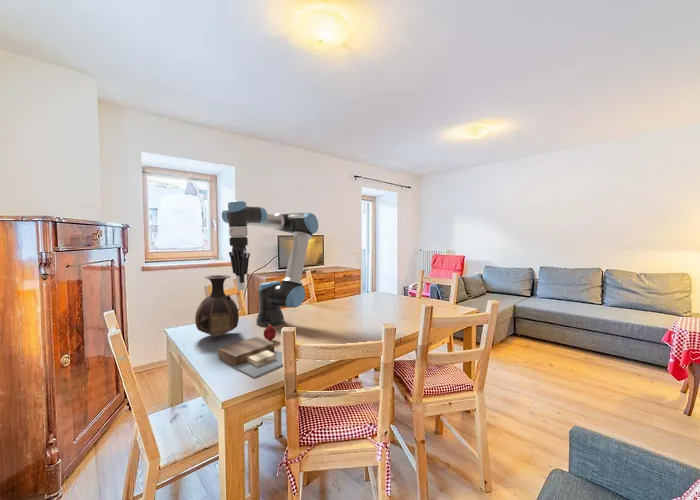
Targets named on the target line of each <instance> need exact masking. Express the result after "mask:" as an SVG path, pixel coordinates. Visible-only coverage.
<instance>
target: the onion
mask: <svg viewBox="0 0 700 500" xmlns="http://www.w3.org/2000/svg"><path fill="white" fill-rule="evenodd" d="M276 336H277V330H276V328H275V327H274V326H271V325H270V324H269V326H266V327H265V329H264V330H263V337H264V339H265V340H267V341H270V342H272V341H273V340H274V339H275V338H276Z"/></svg>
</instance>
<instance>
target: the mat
mask: <svg viewBox="0 0 700 500" xmlns="http://www.w3.org/2000/svg"><path fill="white" fill-rule="evenodd" d="M273 353H275V354H276V359H275V360H272V361H270V362H267V363H264V364H262V365H259V366H254V365H253V364H251V363H249V362H245V363H242V364H240V365H237V366H233V368H234V369H235V370H237V371H239V372H241V373H242V374H245V375H246V376H249V377H251V378H252V379H256V378H258V377H261V376H264V375H265V374H267V373H270V372H272V371H274V370H277V369H279V368H281V367H284V366H283V363H282V351H280V350H274V352H273Z"/></svg>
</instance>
